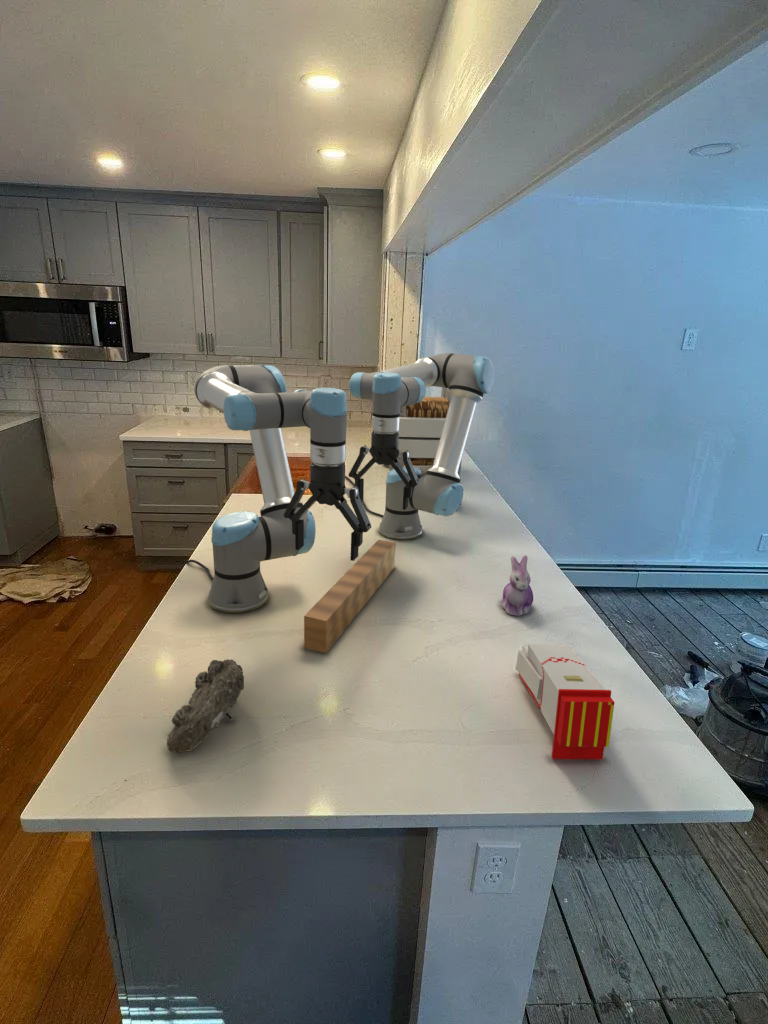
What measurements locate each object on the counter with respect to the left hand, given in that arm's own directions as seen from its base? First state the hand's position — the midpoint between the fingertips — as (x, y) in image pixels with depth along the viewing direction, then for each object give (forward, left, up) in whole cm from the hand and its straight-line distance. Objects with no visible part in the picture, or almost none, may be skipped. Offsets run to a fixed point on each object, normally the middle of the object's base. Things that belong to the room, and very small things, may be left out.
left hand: (326, 553), depth 129 cm
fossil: (+3, -35, -22) cm, 41 cm away
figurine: (+29, +44, -22) cm, 57 cm away
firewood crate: (-65, +136, -22) cm, 152 cm away
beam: (-6, +18, -22) cm, 29 cm away
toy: (+53, +10, -22) cm, 58 cm away
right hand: (-11, +36, 0) cm, 37 cm away
